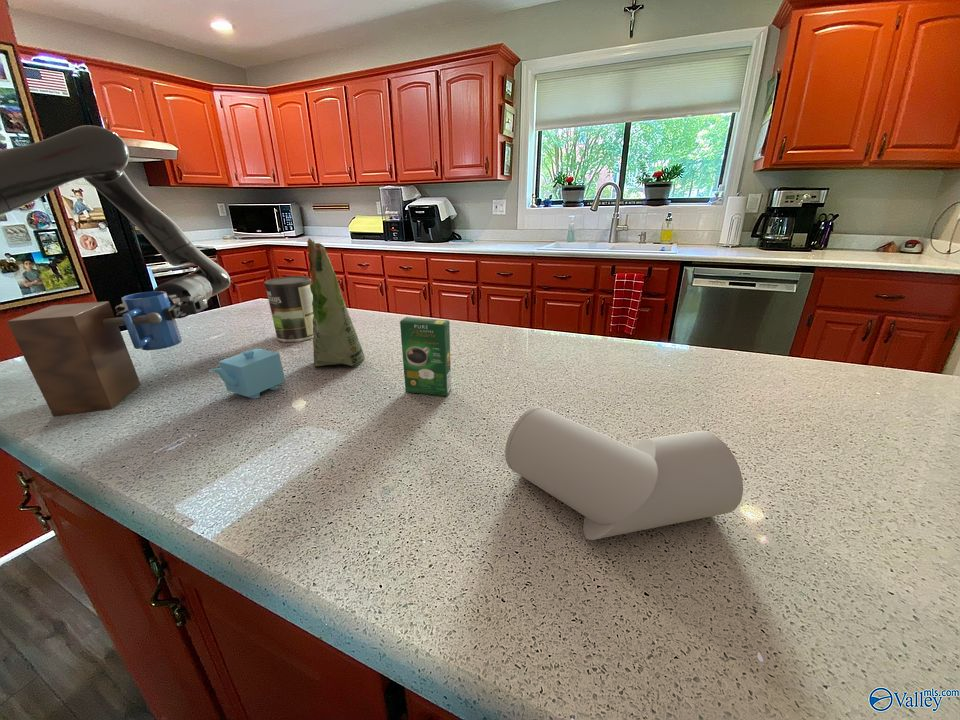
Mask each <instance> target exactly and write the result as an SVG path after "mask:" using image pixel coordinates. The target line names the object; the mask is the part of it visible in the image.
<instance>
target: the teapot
mask: <svg viewBox="0 0 960 720" xmlns="http://www.w3.org/2000/svg"><path fill="white" fill-rule="evenodd" d="M218 364H219V367H214V368H211V369H209V370H208V372H212V373H216V374H218V375H219V376H220V379H221V380H222V381H223V382H224V385H225V389H226V391H228V392H230V393H234V394H237V395H240V396H244V397H247V398H250V399H252V400H253V399H258V398H260V396H261V393H262V392H264V391H266V390H270V391H274V390H277V389H279V386H278V385H279V384H282V383H284V382H286V377H285V374H284V369H283V364H282V359H281V355H280V353H279V352H276V351H275V350H267V349H262V348H258V347H256V348H253V349H248V350H244V351H243V352H242V353H239V354H236V355H233V356H230V357H228V358H225V359H222V360H219V361H218Z"/></svg>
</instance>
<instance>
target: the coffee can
mask: <svg viewBox="0 0 960 720" xmlns="http://www.w3.org/2000/svg"><path fill="white" fill-rule="evenodd" d="M263 283H264V284H263V285H264V287H265V291H266V295H267V300H268V304H269V309H270V313H271V317H272V321H273V326H274V331H275V335H276V340H277V341H278V342H282V343H299V342H304V341H309V340H312V339H314V337H313V306H312V301H313V294H312V292H311V288H310V284H311V283H312V277H310V276H304V275H292V276H282V277H275V278H271V279H267V280H266V281H264V282H263Z"/></svg>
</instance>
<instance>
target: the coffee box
mask: <svg viewBox="0 0 960 720" xmlns="http://www.w3.org/2000/svg"><path fill="white" fill-rule="evenodd" d="M399 325H400V326H399V327H400V340H401V353H402V365H403V375H404V389H405V392H406V393H412V394H422V395H423V394H424V395H432V396H439V397H441V396H443V397H448V396H449V394H450V393H451V391H452V369H451V368H452V367H451V331H450V329H451V327H450V320H449V319H434V318H422V317H421V318H420V317H411V316H410V317H409V316H405V317H404V318H402V319H401V320H400V321H399Z"/></svg>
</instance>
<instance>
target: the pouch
mask: <svg viewBox="0 0 960 720" xmlns="http://www.w3.org/2000/svg"><path fill="white" fill-rule="evenodd" d="M306 242H307V250H308V252H307V253H308V254H307V257H308V258H307V259H308V262H309V270H308V273H309V274H310V276H311V281H312V282H311V284H310V288H311V292H312V294H313V301H312V306H313V337H314V338H312V339H313V340H312V346H313V347H312V349H313V366H314V368H316V367H317V368H318V367H322V366H339V365H344V366H345V365H346V366H350V367H356V366H358V365H359V364H361V363H363V362H364V360H365V358H366V354H365V352H364V350H363V347H362V344H361V342H360V339H359V337H358V334H357V331H356V329H355V326H354V323H353V321H352V318H351V316H350V313H349V310H348V308H347V304H346V301H345V299H344V296H343V293H342V291H341V287H340V283H339V279H338V277H337V274H336V272H335V271H334V267H333V265H332V261H331V259H330V257H329V255H328V252H327V251H328V250H327V249H326V247H325V245H323V244H322V243H321V242H316V241H315V240H314V239H311V238H310V237H308V239H307V241H306Z"/></svg>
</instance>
